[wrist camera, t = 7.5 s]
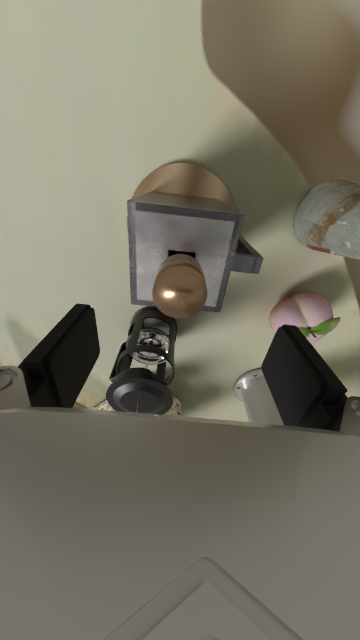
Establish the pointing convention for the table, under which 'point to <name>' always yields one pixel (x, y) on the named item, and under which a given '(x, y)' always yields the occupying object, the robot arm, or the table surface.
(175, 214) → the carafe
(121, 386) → the french press
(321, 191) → the bottle
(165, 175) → the coaster
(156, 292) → the plunger
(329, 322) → the decorative fruit
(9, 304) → the table surface
